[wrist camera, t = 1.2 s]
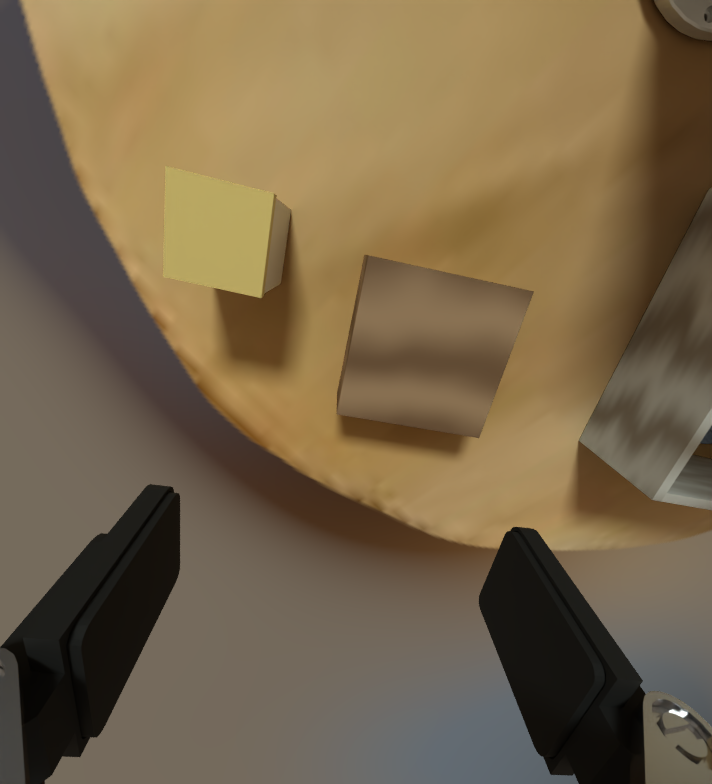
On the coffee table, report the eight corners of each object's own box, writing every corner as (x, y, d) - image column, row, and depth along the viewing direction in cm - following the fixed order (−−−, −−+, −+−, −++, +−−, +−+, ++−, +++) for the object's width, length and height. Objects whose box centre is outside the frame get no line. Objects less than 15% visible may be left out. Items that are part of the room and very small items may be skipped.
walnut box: (364, 254, 28) (368, 255, 24) (503, 285, 30) (533, 291, 25) (337, 391, 33) (336, 414, 28) (460, 412, 34) (478, 437, 29)
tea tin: (215, 189, 26) (165, 165, 19) (292, 208, 27) (274, 193, 19) (210, 269, 28) (163, 276, 21) (281, 285, 29) (261, 298, 21)
